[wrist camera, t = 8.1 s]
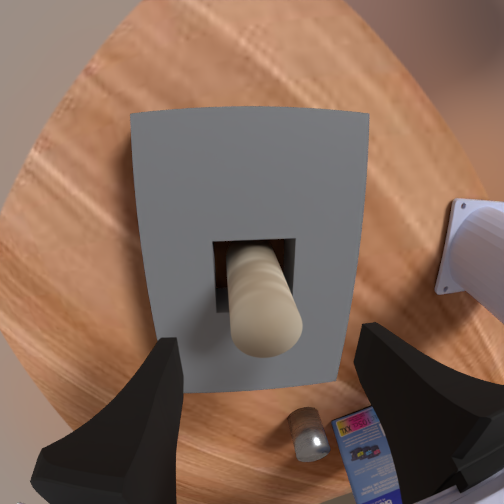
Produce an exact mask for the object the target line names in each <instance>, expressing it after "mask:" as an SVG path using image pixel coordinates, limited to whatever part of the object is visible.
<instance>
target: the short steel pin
mask: <svg viewBox="0 0 504 504" xmlns="http://www.w3.org/2000/svg"><path fill="white" fill-rule="evenodd" d="M288 423H289V427H290V431H291V435H292V440H293V444H294V448H295V452H296V457H297V459H298V460H299V461H302V462H311V461H316V460H319V459H321V458H323V457H325V456H326V455H327V454H328V453H329V452H330V446H329V443H328V440H327V437H326V434H325V431H324V428H323V425H322V422H321V419H320V416H319V413H318V411H317V409H315V408H312V407H304V408H300V409H297V410H295V411H294V412H292V413H291V414H290V415H289V417H288Z"/></svg>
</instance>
